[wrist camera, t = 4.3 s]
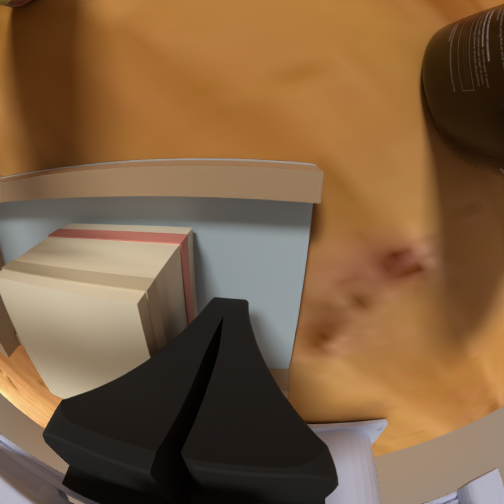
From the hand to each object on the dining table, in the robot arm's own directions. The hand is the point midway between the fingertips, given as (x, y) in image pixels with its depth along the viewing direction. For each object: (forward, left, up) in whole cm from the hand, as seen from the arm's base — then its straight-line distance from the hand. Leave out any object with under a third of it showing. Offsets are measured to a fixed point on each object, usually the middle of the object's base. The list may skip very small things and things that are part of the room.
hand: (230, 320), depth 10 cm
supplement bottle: (+10, -10, -3) cm, 15 cm away
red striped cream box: (0, +5, -2) cm, 5 cm away
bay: (0, +7, -2) cm, 7 cm away
